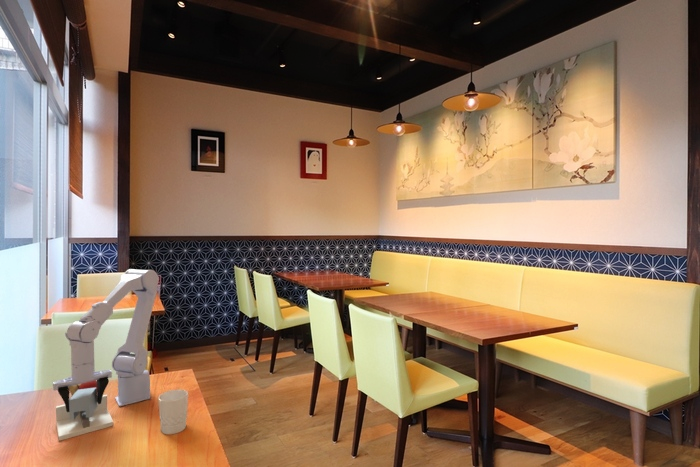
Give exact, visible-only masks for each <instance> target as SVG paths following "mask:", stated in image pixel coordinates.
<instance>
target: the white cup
mask: <svg viewBox="0 0 700 467" xmlns="http://www.w3.org/2000/svg"><path fill="white" fill-rule="evenodd" d="M188 392H189V391H187V390H186V389H180V388H178V389H170V390H167V391H165V392H162V393H161V394H159V395H158V400H157V401H158V412H159V422H160V432H161V433H162V434H163V435H176V434H178V433H181V432H183V431H184V430H185V429H186V428H187V418H188V406H189V405H188V404H189V403H188V402H189V401H188V400H189V393H188Z"/></svg>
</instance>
